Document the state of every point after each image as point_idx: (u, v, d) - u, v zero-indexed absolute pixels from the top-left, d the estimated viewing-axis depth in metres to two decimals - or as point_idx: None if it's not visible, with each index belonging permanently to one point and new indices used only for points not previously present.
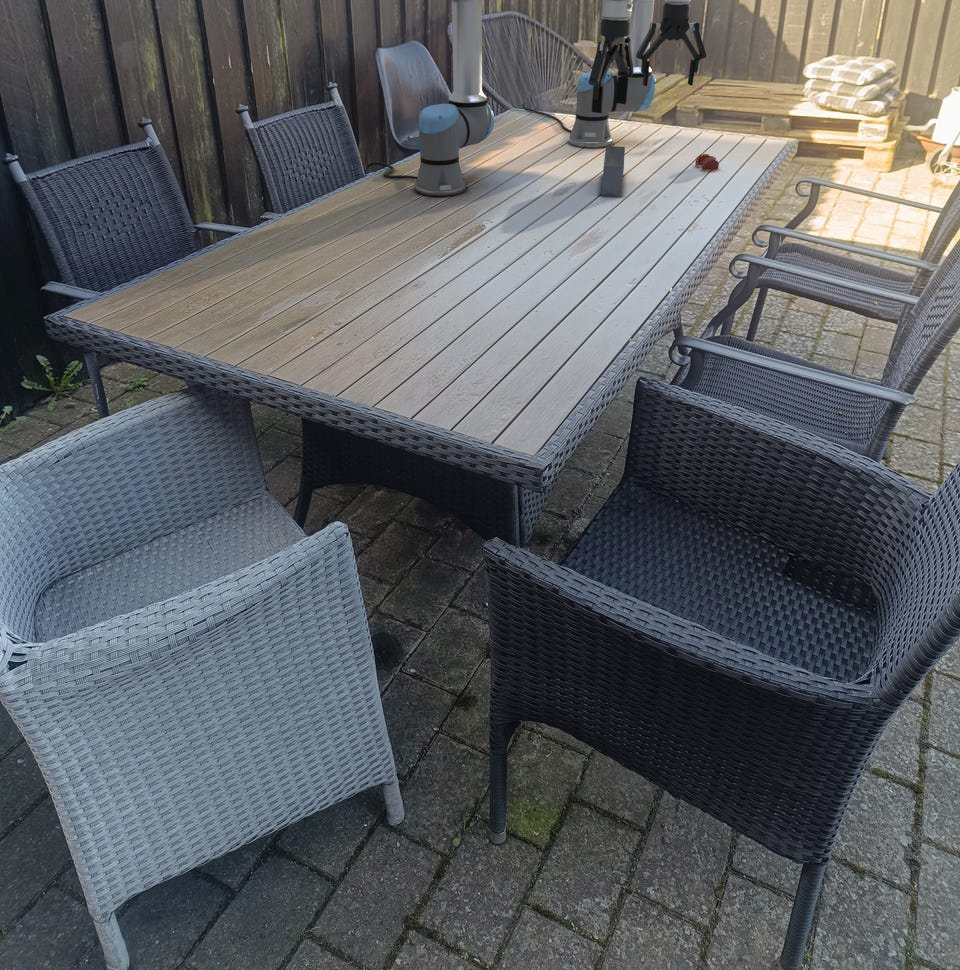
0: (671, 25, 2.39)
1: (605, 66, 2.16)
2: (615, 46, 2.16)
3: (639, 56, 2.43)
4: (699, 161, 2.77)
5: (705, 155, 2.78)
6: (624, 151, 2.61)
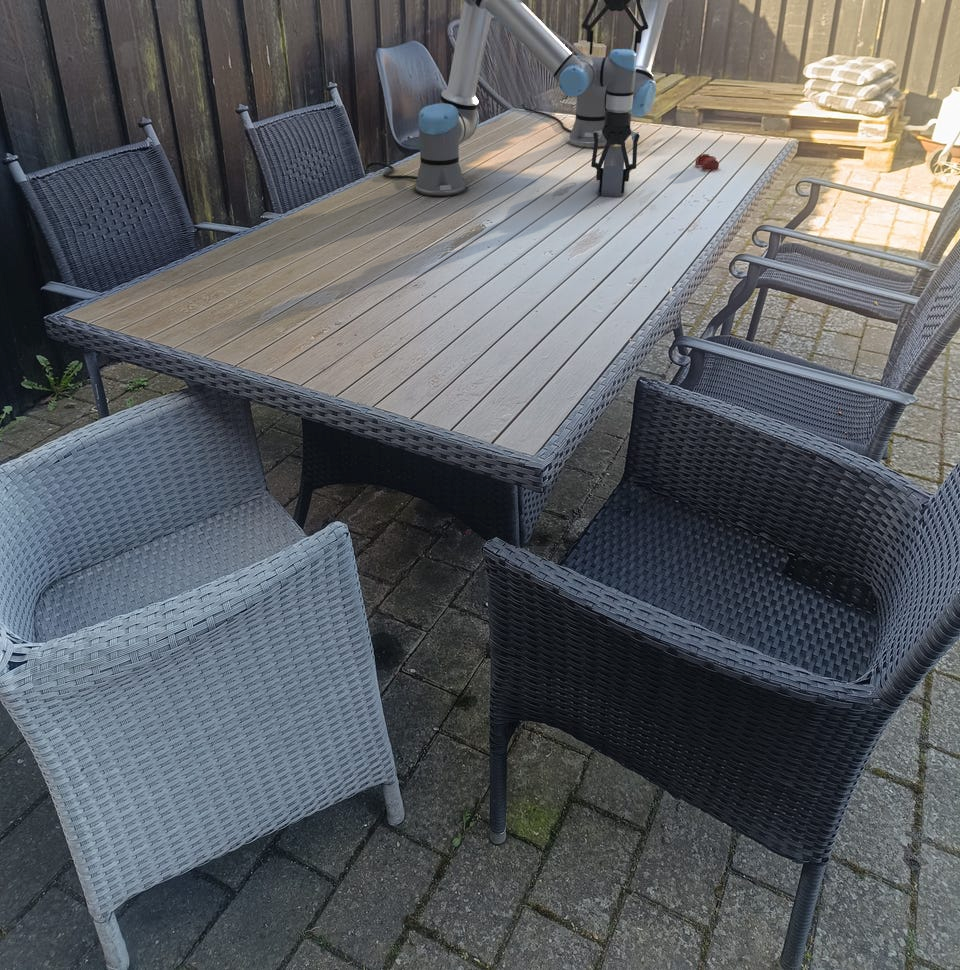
0: None
1: None
2: None
3: None
4: (699, 161, 2.77)
5: (705, 155, 2.78)
6: None
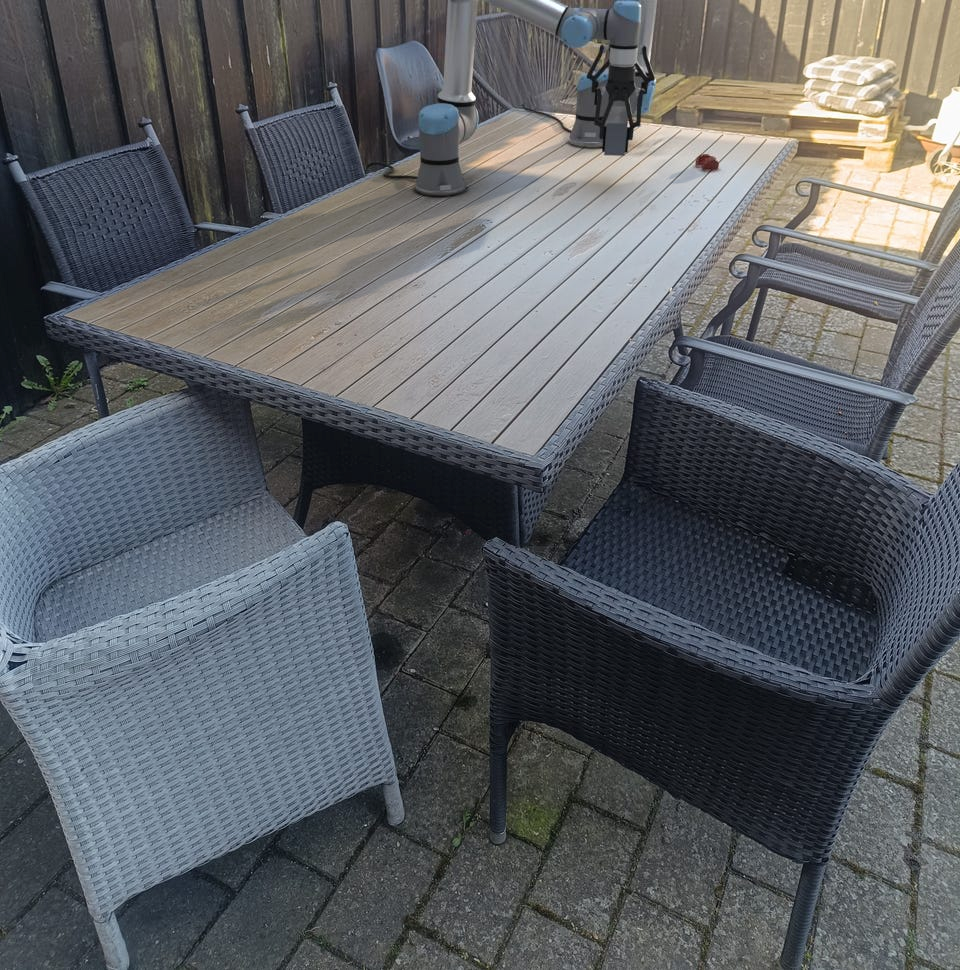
0: None
1: None
2: None
3: None
4: (699, 161, 2.77)
5: (705, 155, 2.78)
6: None
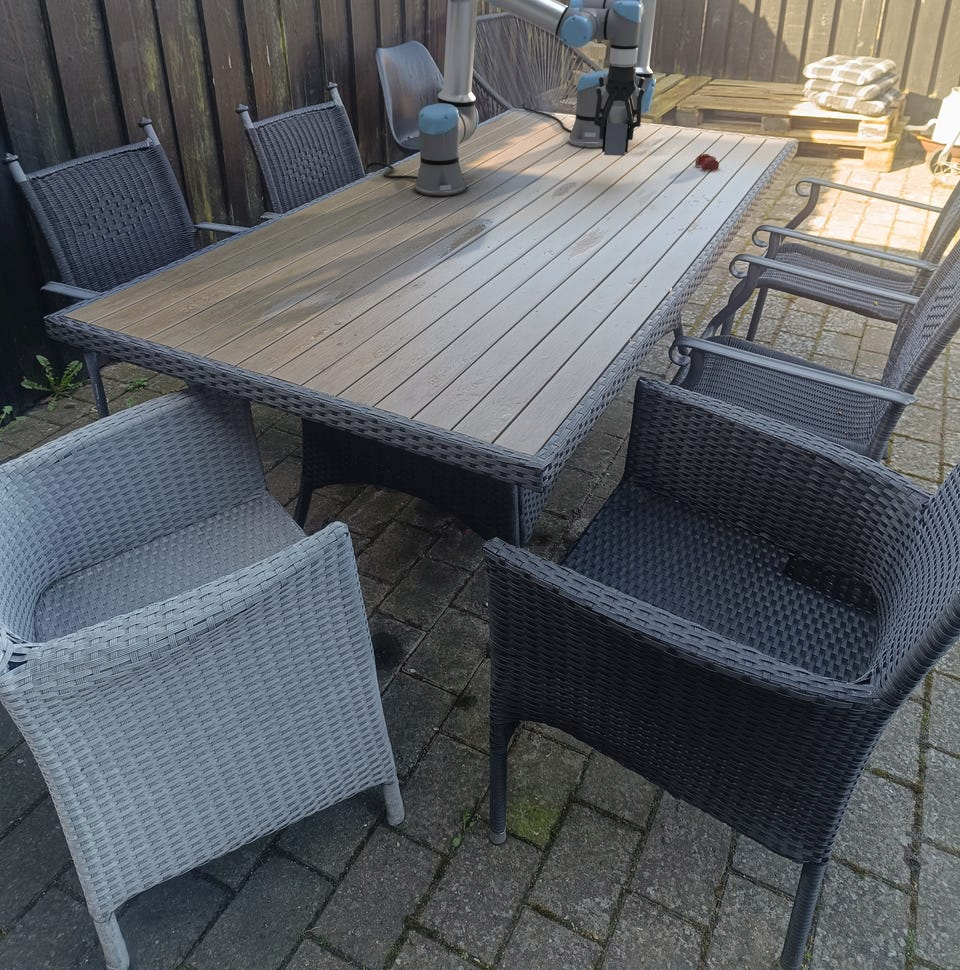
0: None
1: None
2: None
3: None
4: (699, 161, 2.77)
5: (705, 155, 2.78)
6: None
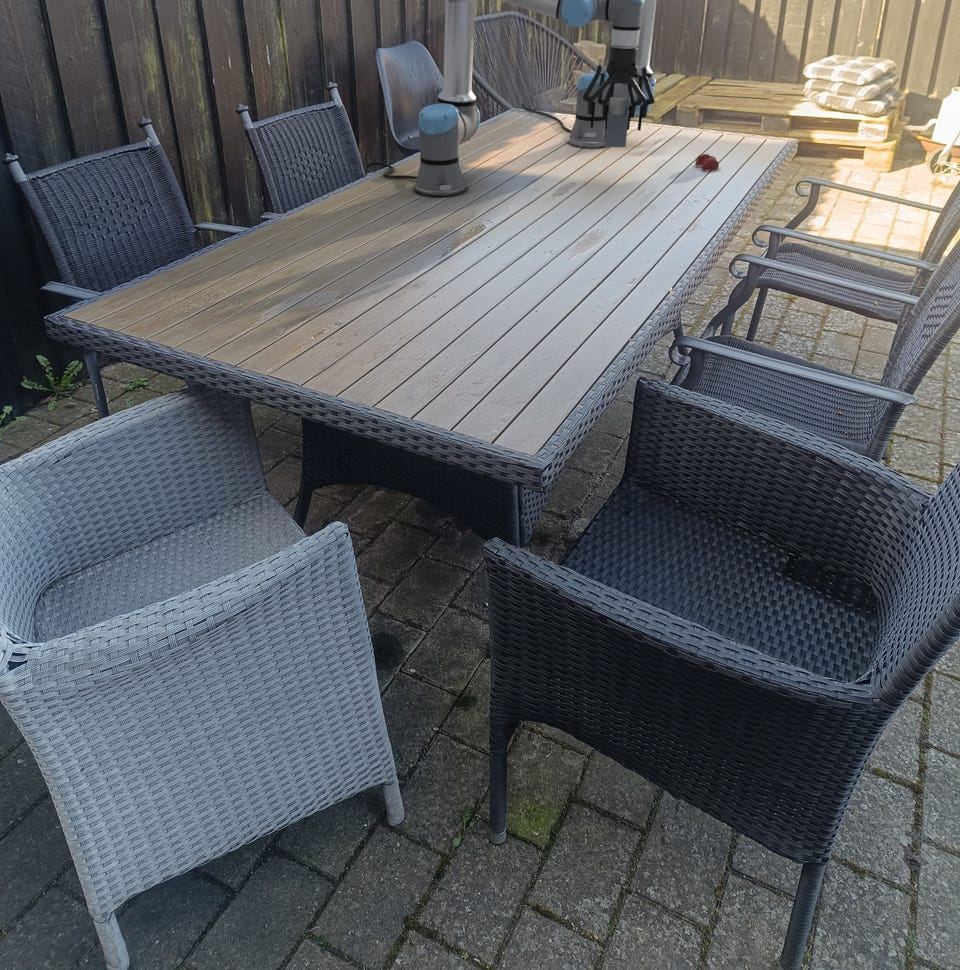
0: None
1: None
2: None
3: None
4: (699, 161, 2.77)
5: (705, 155, 2.78)
6: None
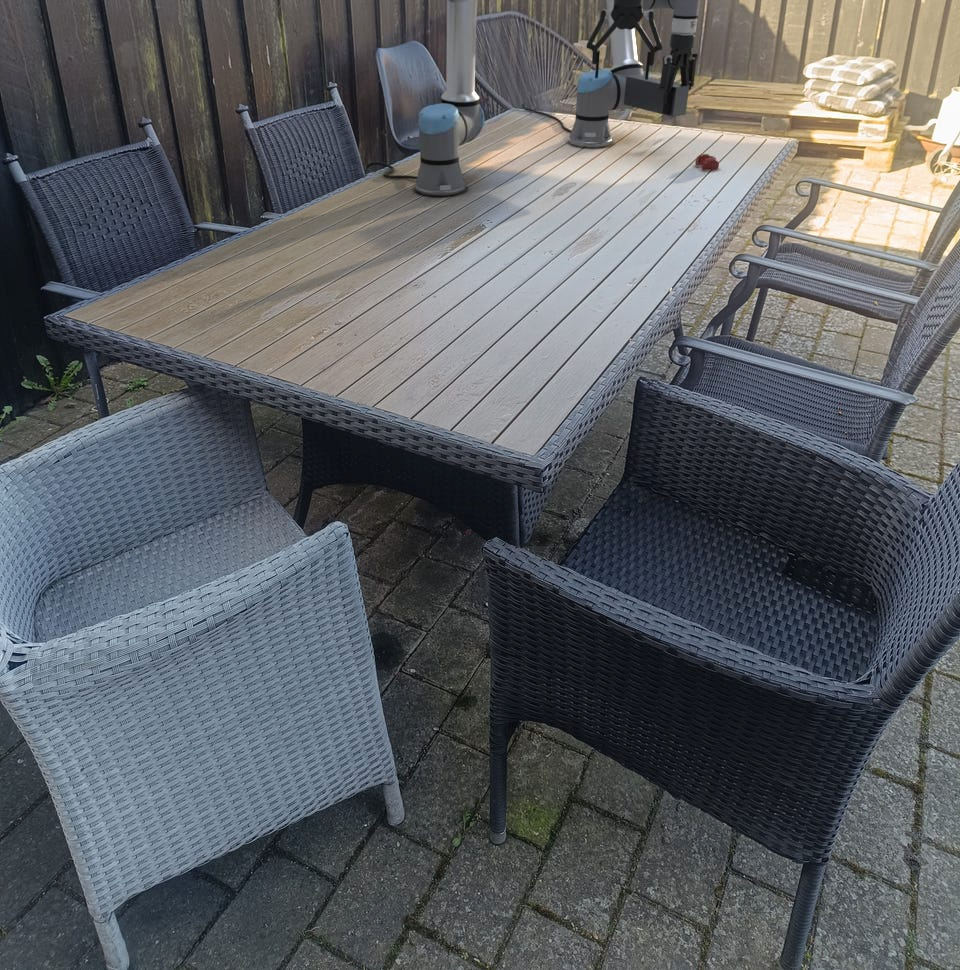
0: (679, 54, 2.65)
1: (645, 33, 2.25)
2: None
3: (665, 89, 2.68)
4: (699, 161, 2.77)
5: (705, 155, 2.78)
6: None
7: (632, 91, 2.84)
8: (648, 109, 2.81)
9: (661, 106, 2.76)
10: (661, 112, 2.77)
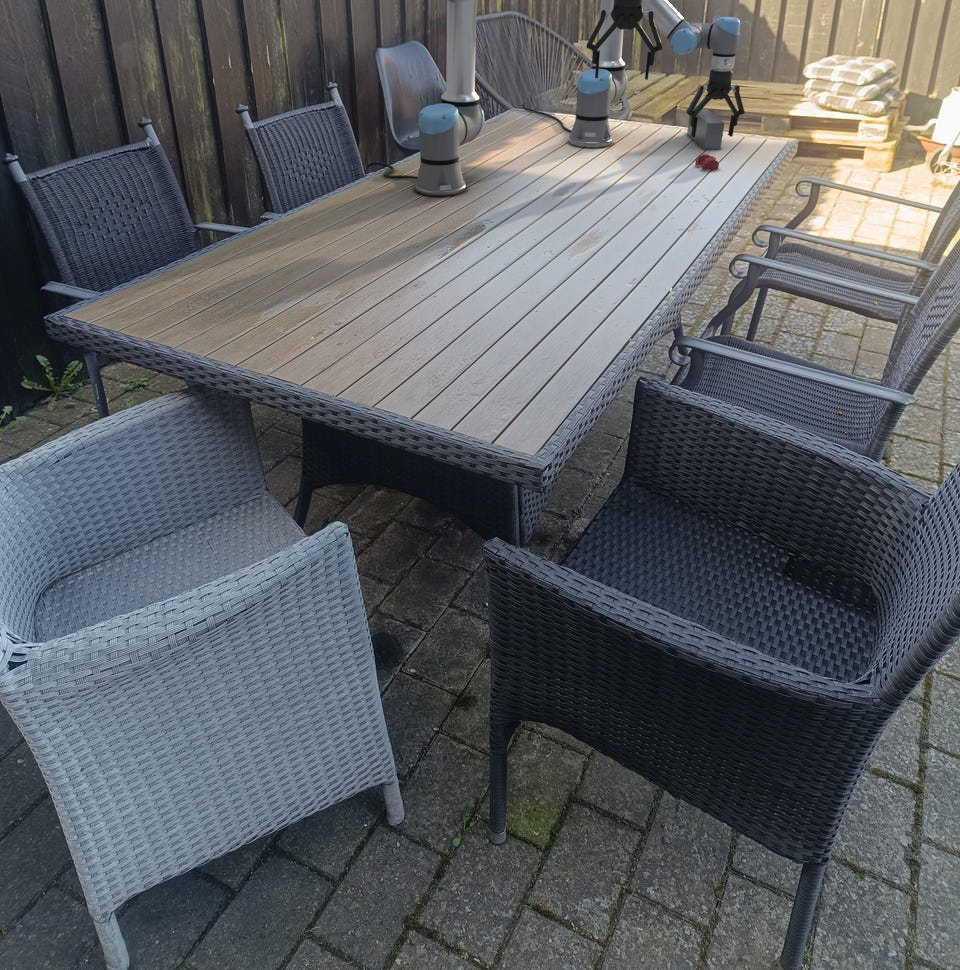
0: (716, 87, 2.87)
1: (645, 33, 2.25)
2: None
3: (689, 113, 2.91)
4: (699, 161, 2.77)
5: (705, 155, 2.78)
6: (703, 119, 2.97)
7: None
8: (695, 140, 3.06)
9: (700, 139, 3.00)
10: (700, 144, 3.01)
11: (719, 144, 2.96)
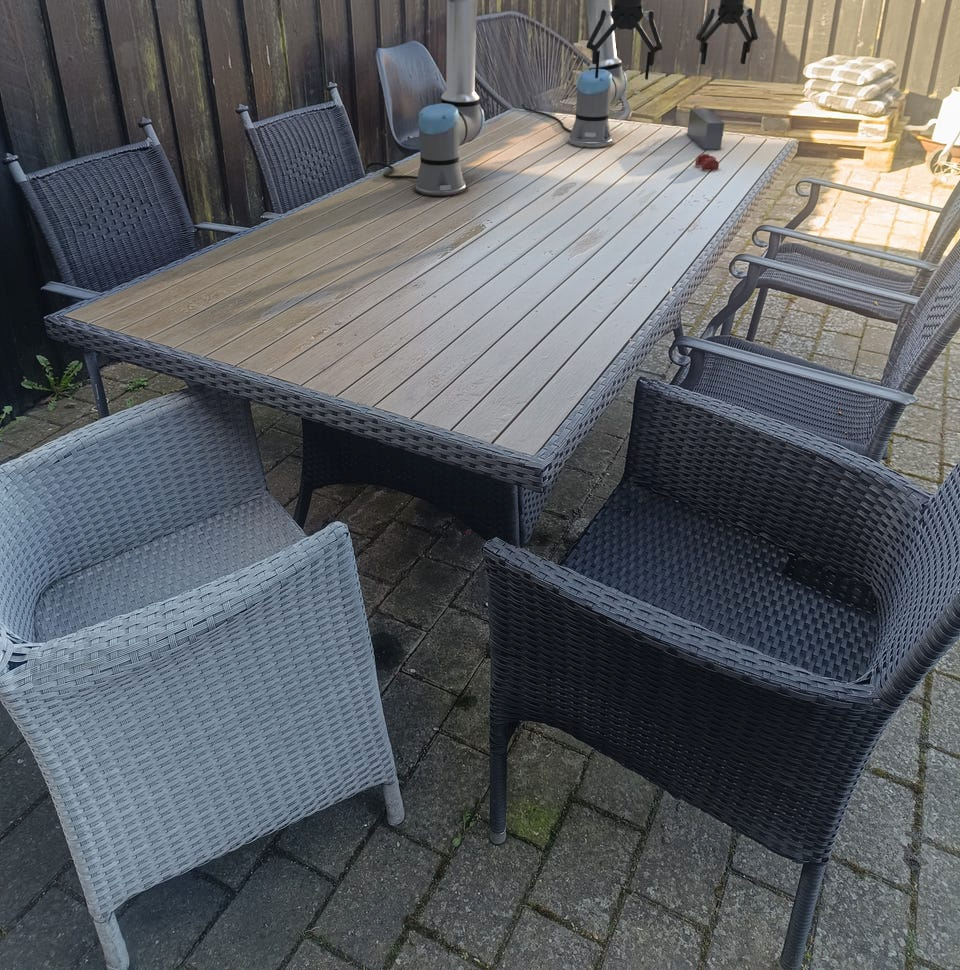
0: (728, 10, 2.73)
1: (645, 33, 2.25)
2: None
3: (699, 38, 2.78)
4: (699, 161, 2.77)
5: (705, 155, 2.78)
6: (703, 119, 2.97)
7: (691, 123, 3.10)
8: (695, 140, 3.06)
9: (700, 139, 3.00)
10: (700, 144, 3.01)
11: (719, 144, 2.96)
